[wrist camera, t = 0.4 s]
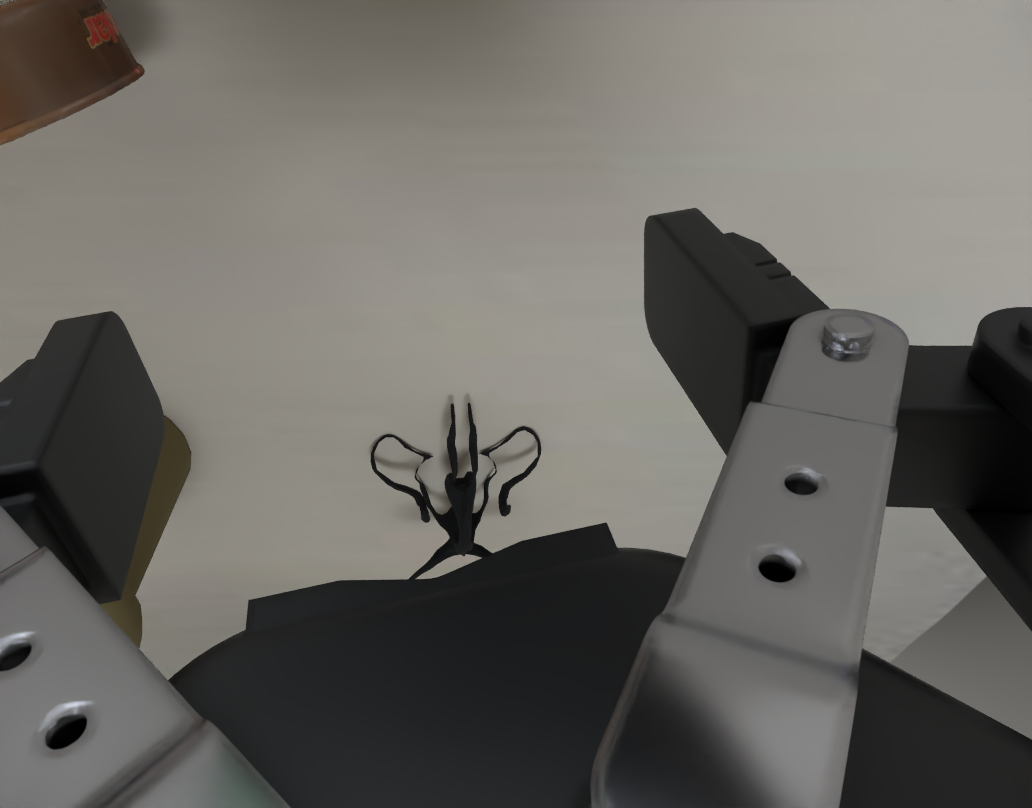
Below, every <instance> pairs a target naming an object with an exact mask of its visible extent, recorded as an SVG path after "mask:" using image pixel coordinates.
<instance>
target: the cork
mask: <svg viewBox="0 0 1032 808" xmlns="http://www.w3.org/2000/svg"><path fill="white" fill-rule="evenodd" d="M164 421H165V436H164V441H163V444H162V448H161V452H160V456H159V459H158V463H157V467H156V471H155V474H154V478H153V482H152V485H151V489H150V493H149V497H148V500H147V504H146V508H145V512H144V515H143V519H142V523H141V527H140V530H139V534H138V538H137V542H136V545H135V549H134V553H133V556H132V560H131V564H130V568H129V571H128V575H127V579H126V583H125V586H124V590H123V594H122V598H121V600H118V601H114V602H109V603H104V604H100V606H101V607H102V608H103V609H104V611H105V612H106V613H107V614H108V615H109V616H110V617H111V618H112V619H113V620H114V622H115V623H116V624H117V625H118V626H119V627H120V628H121V629H122V630H123V631H124V633H125V634H126V635H127V636H128V637H129V638H130V639H131V640H132V641H133V643H134V644H135V645H136V646H137V647H138V648H140V643H141V638H142V614H141V605H140V603H139V601H138V599H137V598H136V596H135V595H136V593H137V590H138V588H139V586H140V584H141V581H142V579H143V577H144V574H145V572H146V570H147V567H148V565H149V563H150V561H151V558H152V556H153V554H154V551H155V549H156V547H157V545H158V542H159V540H160V538H161V535H162V533H163V531H164V529H165V526H166V524H167V522H168V519H169V517H170V515H171V513H172V510H173V508H174V506H175V503H176V501H177V499H178V497H179V494H180V492H181V490H182V487H183V485H184V483H185V480H186V478H187V476H188V474H189V471H190V463H191V452H190V449H189V447H188V444H187V442H186V439H185V437H184V435H183V434H182V433H181V432H180V431H179V429H178V428H177V427H176V426H175V425H174V424H173V423H172V422H171V421H170V420H169V419H168V418H166V417H164Z"/></svg>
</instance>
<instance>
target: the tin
mask: <svg viewBox="0 0 1032 808" xmlns="http://www.w3.org/2000/svg"><path fill="white" fill-rule="evenodd" d="M144 72H145V70H144V68H143V66H142V65H140V64H139V63H137V62H136V60H135V59H134V57H133V55H132V54H131V52H130V50H129V48H128V46H127V44H126V43H125V41H124V39H123V37H122V35H121V33H120V32H119V30H118V28H117V26H116V24H115V22H114V20H113V19H112V17H111V15H110V13H109V12H108V10H107V8H106V6H105V5H104V3H103V2H102V0H17V1H14V2H11V3H7V4H4V5H1V6H0V145H2V144H5V143H8V142H11V141H13V140H15V139H17V138H20V137H23V136H24V135H26V134H28V133H31V132H33V131H35V130H37V129H40V128H42V127H45V126H47V125H49V124H51V123H54V122H56V121H58V120H60V119H64V118H66V117H68V116H70V115H72V114H74V113H76V112H78V111H80V110H82V109H85V108H87V107H89V106H90V105H92V104H94V103H96V102H98V101H100V100H103V99H105V98H107V97H108V96H111V95H113V94H114V93H116V92H117V91H119V90H121V89H123V88H124V87H125V86H128V85H130V84H131V83H133V82H135V81H136V80H138V79H139V78H140V77H141V76H143V74H144Z"/></svg>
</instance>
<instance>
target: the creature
mask: <svg viewBox="0 0 1032 808" xmlns="http://www.w3.org/2000/svg"><path fill="white" fill-rule="evenodd" d="M468 416H469V423H470V434H469V452H470V457H471V465H472V472H471V471H469V472H467V473H466V475H465V476H464V478H456V476H457V473H458V462H457V451H456V447H455V436H456V427H455V412H454V405H453V404H451V420H452V423H451V427H450V431H449V435H448V438H447V448H448V453H449V458H450V463H451V469H452V473H449V474H448V475H447V476H446V479H445V489H446V493H447V495H448V498H449V500H450V502H451V505H452V506H451V508H450V509H449V511H448V512H447V513H445V514H443V515H441V514H438V513H436V511H435V510H434V508H433V507H432V505H431V503H430V499H429V496H428V493H427V490H426V488H425V486H424V484H422V483H421V482H420V481H419V480H418V479H417V477H416V474H415V479H416V480H417V481H418V482H419V484H420V489H421V492H422V494H421V493H420V492H419V491H417V490H415V489H412V488H410V487H407V486H405V485H401V484H398V483H394V482H393V481H391V480H390V479H389V478H387V477H386V476H384V475H383V474H382V473H380V472H379V471H378V470H377V468H376V463H375V459H374V452H375V450H376V447H377V445H378V443H379V442H380V441H382V440H383V439H384V438H386V437H394V438H395V439H397V440H398V441H399V442H400V443H401V444H402V445H403V446H404V447H405V448H407V449H409V450H411V451H413V452H415V453H417V454H419V455H421V456H423V457H424V460H423V462H424V461H425V460H427V459H429V458H431V457H433V456H430V455H425V454H422V453H419V452H416V451H414V450H413V449H411V448H410V447H409V446H408V445H406V444H405V443H404V442H403V441H401V440H400V439H399V438H397V437H396V436H393V435H385V436H383V437H381V438H380V439H379V440H378V441H377V442H376V444H375V445H374V447H373V450H372V452H371V465H372V469H373V470H374V472H375V473H376V474H377V475H378V476H379V477H380V478H381V479H382V480H383V481H384V482H385V483H386V484H387V485H389V486H391V487H392V488H394V489H396V490H399V491H402V492H405V493H407V494H409V495H411V496H413V497H414V499H415V501H416V503H417V505H418V506H419V507H420V511H421V519H422V520H423V521H424V522H426V523H427V522H429V521H430V516H429V512H428V510H427V507H428V508H429V509H430V511H431V512H432V514H433V515H434V517H435V518H436V520H437V521H438V523H439V524H440V526H441V527H443V528H444V529H445V530H446V531H447V533H448V534H449V537H450V538H449V540H448V541H447V542H446V543H445V544H444V545H443V546H442V547H440V548H439V549H438V550H437V551H436V552H435V553H434V555H433V556H432V557H431V559H430V560H429V561H428V562H427V563H426V564H425V565H424V566H423V567H421V568H420V569H419V570H418V571H417V572H415V573H414V574H413V575H412V576H411V577H410V578H409V579H416V578H417V577H418V576H420V575H421V574H423V573H424V572H426V571H428V570H430V569H431V568H433V567H434V566H436V565H437V564H438V563H440V562H442V561H443V560H445V559H447V558H449V557H451V556H454V555H459V554H460V555H463V556H465V554H470V555H475V556H479V557H482V558H484V557H486V556H488V555H491V554H492V553H491V552H490V551H488V550H487V549H485V548H484V547H483V546H481V545H478V544H476V543H473V542H474V536H475V530H476V528H477V526H478V524H479V522H480V519H481V516H482V513H483V511H484V509H485V506H486V504H487V502H488V498H489V496H488V486H489V481H490V480H491V479H492V477H493V476H494V475H495V474H496V472H497V470H496V471H495V473H494V474H493V475H492V476H491V477H489V478H488V479H487V480H486V481H485V483H484V500H483V505H482V507H481V509H480V510H479V511H478V512H477V513H472V512H473V505H474V499H475V493H476V477H475V476H476V474H477V471H478V452H477V434H476V427H475V425H474V423H473V417H472V410H471V405H470V403H468ZM523 430H526V431H527V432H529V433H531V434H533V435H534V437H535V439H536V440H537V442H538V457H537V458H536V459H535V460H534V461H533V462H532V464H531V465H530V466H529V467H528V468H527V469H526V470H525V472H524V473H522V474H520V475H518V476H516V477H514V478H512V479H511V480H509V481H508V482H506V483H504V484H503V485H502V488H501V491H500V494H499V509H500V513H501V515H502V516H507V515H508V514H509V513H510V510H511V506H510V505H507V498H508V494H509V491H510V489H511V488H512V487H513V486H514V485H515V484H517V483H518V482H520V481H522V480H523V479H524V478H526V477H527V476H528V475H529V474H530V473H531V471H532V470H533V469H534V468H535V467H536V465H537V462H538V460H539V457H540V455H541V444H540V440H539V438H538V436H537V435H536V434H535V433H534V432H533V431H532V430H531V429H529V428H527V427H521V428H519V429H517V430H515V431H514V432H513V433H512V434H511V435H510V436H509V437H508V438H507V439H505V440H504V441H503V442H502V443H501V444H500V445H498V446H496V447H494V448H492V449H490V450H487V451H485V452H481V453H479V454H482V455H485V456H488V457H489V453H490V452H492V451H493V450H495V449H497V448H498V447H500V446H501V445H503V444H504V443H506V442H508V441H509V440H510V439H511V438H512V437H513V436H514V435H515V434H516V433H517V432H519V431H523ZM489 458H490V457H489ZM490 459H491V458H490ZM492 461H493V460H492ZM423 462H422V463H423ZM493 463H494V461H493ZM419 466H420V465H419ZM494 466H495V469H496V465H495V463H494ZM418 468H419V467H418ZM418 468H417V470H416V473H417V471H418ZM422 495H423V496H422ZM426 505H427V506H426Z"/></svg>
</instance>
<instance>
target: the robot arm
mask: <svg viewBox="0 0 1032 808" xmlns="http://www.w3.org/2000/svg"><path fill="white" fill-rule="evenodd" d="M644 309H645V318H646V323H647V328H648V331H649V334H650V337H651V339H652V342H653V343H654V345H655V347H656V348H657V350H658V351H659V353H660V354H661V356H662V357H663V359H664V360H665V362H666V363H667V365H668V367H669V368H670V370H671V371H672V373H673V374H674V376H675V377H676V379H677V380H678V382H679V383H680V385H681V386H682V388H683V390H684V391H685V393H686V394H687V396H688V397H689V399H690V400H691V402H692V403H693V405H694V406H695V408H696V410H697V411H698V413H699V414H700V416H701V417H702V419H703V420H704V422H705V423H706V425H707V426H708V428H709V429H710V431H711V433H712V434H713V436H714V437H715V439H716V440H717V442H718V443H719V445H720V446H721V448H722V449H723V451H724V452H725V454H726V456H727V457H726V460H725V462H724V465H723V467H722V470H721V472H720V475H719V477H718V480H717V482H716V485H715V487H714V490H713V492H712V495H711V497H710V500H709V502H708V505H707V507H706V510H705V512H704V515H703V517H702V520H701V522H700V525H699V527H698V530H697V532H696V535H695V537H694V540H693V542H692V544H691V547H690V549H689V552H688V554H687V557H686V558H684V557H681V556H677V555H674V554H671V553H666V552H660V551H655V550H649V549H638V548H617V547H616V544H615V542H614V539H613V537H612V534H611V532H610V530H609V527H608V525H607V523H602V524H597V525H593V526H588V527H584V528H579V529H574V530H570V531H565V532H561V533H556V534H551V535H547V536H542V537H538V538H533V539H528V540H524V541H520V542H518V543H516V544H514V545H511V546H509V547H507V548H504V549H502V550H500V551H498V552H495V553H493V554H491V555H488V556H486V557H484V558H481V559H479V560H477V561H475V562H472V563H470V564H468V565H465V566H463V567H461V568H459V569H456V570H454V571H452V572H449V573H447V574H445V575H442V576H440V577H436V578H432V579H407V580H341V581H335V582H330V583H326V584H321V585H317V586H312V587H307V588H303V589H298V590H294V591H289V592H284V593H280V594H275V595H271V596H266V597H261V598H257V599H252V600H249V601H248V611H247V621H246V630H245V631H242V632H240V633H238V634H236V635H234V636H232V637H230V638H228V639H226V640H224V641H223V642H221V643H219V644H217V645H215V646H213V647H212V648H210V649H209V650H207V651H206V652H204V653H203V654H201V655H200V656H198V657H197V658H195V659H194V660H192V661H191V662H190V663H189V664H187V665H186V666H185V667H183V668H182V669H181V670H180V671H178V672H177V673H176V674H175V675H173V676H172V677H171V678H170V679H169V680H167V679H166V678H165V677H164V676H163V675H162V673H161V672H160V671H159V670H158V669H157V668H156V667H155V666H154V665H153V664H152V662H151V661H150V660H149V659H148V658H147V657H146V656H145V655H144V654H143V652H142V651H141V650H140V649H139V648H138V647H137V646H136V645H135V644H134V643H133V641H132V640H131V639H130V638H129V637H128V636H127V635H126V634H125V633H124V631H123V630H122V629H121V628H120V627H119V626H118V625H117V624H116V623H115V622H114V620H113V619H112V618H111V617H110V616H109V615H108V614H107V613H106V612H105V611H104V609H103V608H102V607H101V606H100V604H104V603H109V602H114V601H118V600H121V598H122V594H123V590H124V586H125V583H126V579H127V575H128V571H129V568H130V564H131V560H132V556H133V553H134V549H135V545H136V542H137V538H138V534H139V530H140V527H141V523H142V519H143V515H144V512H145V508H146V504H147V500H148V497H149V493H150V489H151V485H152V482H153V478H154V474H155V471H156V467H157V463H158V459H159V456H160V452H161V448H162V444H163V441H164V436H165V421H164V415H163V410H162V406H161V403H160V400H159V398H158V395H157V393H156V391H155V389H154V387H153V384H152V382H151V380H150V378H149V376H148V374H147V371H146V369H145V367H144V365H143V363H142V361H141V358H140V356H139V354H138V352H137V350H136V348H135V346H134V343H133V341H132V339H131V337H130V335H129V333H128V330H127V328H126V326H125V324H124V323H123V321H122V320H121V318H120V317H119V316H118V315H117V314H116V313H114V312H112V311H109V312H103V313H98V314H92V315H87V316H81V317H75V318H70V319H64V320H59V321H57V322H55V324H54V325H53V327H52V329H51V330H50V332H49V334H48V336H47V338H46V339H45V341H44V343H43V345H42V346H41V348H40V350H39V352H38V354H37V355H36V357H35V359H30V360H27V361H25V362H24V363H23V364H22V365H21V366H20V367H18V368H17V369H16V370H15V371H14V372H12V373H11V374H10V375H9V376H8V377H6V378H5V379H4V380H3V381H2V382H1V383H0V808H1032V740H1031V739H1030V738H1028V737H1026V736H1024V735H1022V734H1020V733H1018V732H1017V731H1015V730H1013V729H1011V728H1009V727H1007V726H1005V725H1004V724H1002V723H1000V722H998V721H996V720H994V719H992V718H991V717H989V716H987V715H985V714H983V713H981V712H979V711H978V710H975V709H974V708H972V707H970V706H968V705H966V704H965V703H963V702H961V701H959V700H957V699H955V698H953V697H952V696H950V695H948V694H946V693H944V692H942V691H940V690H939V689H936V688H935V687H933V686H931V685H929V684H927V683H926V682H924V681H922V680H920V679H918V678H916V677H914V676H913V675H911V674H909V673H907V672H905V671H903V670H902V669H900V668H898V667H896V666H894V665H892V664H890V663H889V662H887V661H885V660H883V659H881V658H879V657H877V656H876V655H874V654H872V653H870V652H868V651H866V650H864V649H863V648H862V646H863V640H864V634H865V628H866V622H867V616H868V610H869V604H870V597H871V591H872V585H873V579H874V573H875V567H876V561H877V555H878V549H879V543H880V537H881V531H882V525H883V519H884V513H885V507H886V506H887V507H916V508H933V509H934V511H935V512H936V514H937V515H938V516H939V517H940V518H941V520H942V521H943V522H944V523H945V525H946V526H947V527H948V528H949V530H950V531H951V532H952V533H953V535H954V536H955V537H956V538H957V539H958V541H959V542H960V543H961V544H962V546H963V547H964V548H965V549H966V551H967V552H968V553H969V554H970V556H971V557H972V558H973V559H974V560H975V562H976V563H977V564H978V565H979V567H980V568H981V569H982V570H983V572H984V573H985V574H986V575H987V577H988V578H989V579H990V580H991V582H992V583H993V584H994V585H995V586H996V587H997V589H998V590H999V591H1000V593H1001V594H1002V595H1003V596H1004V598H1005V599H1006V600H1007V601H1008V602H1009V604H1010V605H1011V606H1012V607H1013V609H1014V610H1015V611H1016V612H1017V614H1018V615H1019V616H1020V617H1021V618H1022V620H1023V621H1024V622H1025V624H1026V625H1027V626H1028V627H1029V628H1030V630H1031V631H1032V307H1016V308H1007V309H1002V310H998V311H995V312H992V313H990V314H988V315H987V316H985V317H984V318H983V319H982V320H981V321H980V323H979V325H978V328H977V332H976V335H975V338H974V342H973V345H972V346H913V345H909V340H908V338H907V335H906V334H905V332H904V331H903V330H902V329H901V328H900V327H899V326H898V325H896V324H895V323H893V322H892V321H890V320H888V319H886V318H884V317H881V316H878V315H876V314H872V313H869V312H865V311H859V310H852V309H830V308H829V307H828V306H827V305H825V304H824V303H823V302H822V301H821V300H820V299H819V298H818V297H817V296H816V295H815V294H814V293H813V292H811V291H810V290H809V289H808V288H807V287H806V286H805V285H804V284H803V283H802V282H801V281H800V280H799V279H798V278H796V277H795V276H791V272H790V271H789V270H788V269H787V268H786V267H785V266H784V265H782V264H781V263H777V259H776V258H775V257H774V256H773V255H772V254H771V253H770V252H768V251H767V250H766V249H765V248H764V247H763V246H762V245H761V244H760V243H757V242H755V241H752V240H750V239H748V238H745V237H743V236H740V235H738V234H736V233H733V232H732V233H726V234H723V233H722V232H721V231H720V230H719V229H718V228H717V227H716V226H715V225H714V224H713V223H712V222H711V221H710V220H709V219H708V218H707V217H706V216H705V215H704V214H703V213H702V212H701V211H700V210H698V209H697V208H692V209H686V210H680V211H675V212H669V213H664V214H658V215H652V216H649V217H648V218H647V220H646V223H645V229H644Z"/></svg>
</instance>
